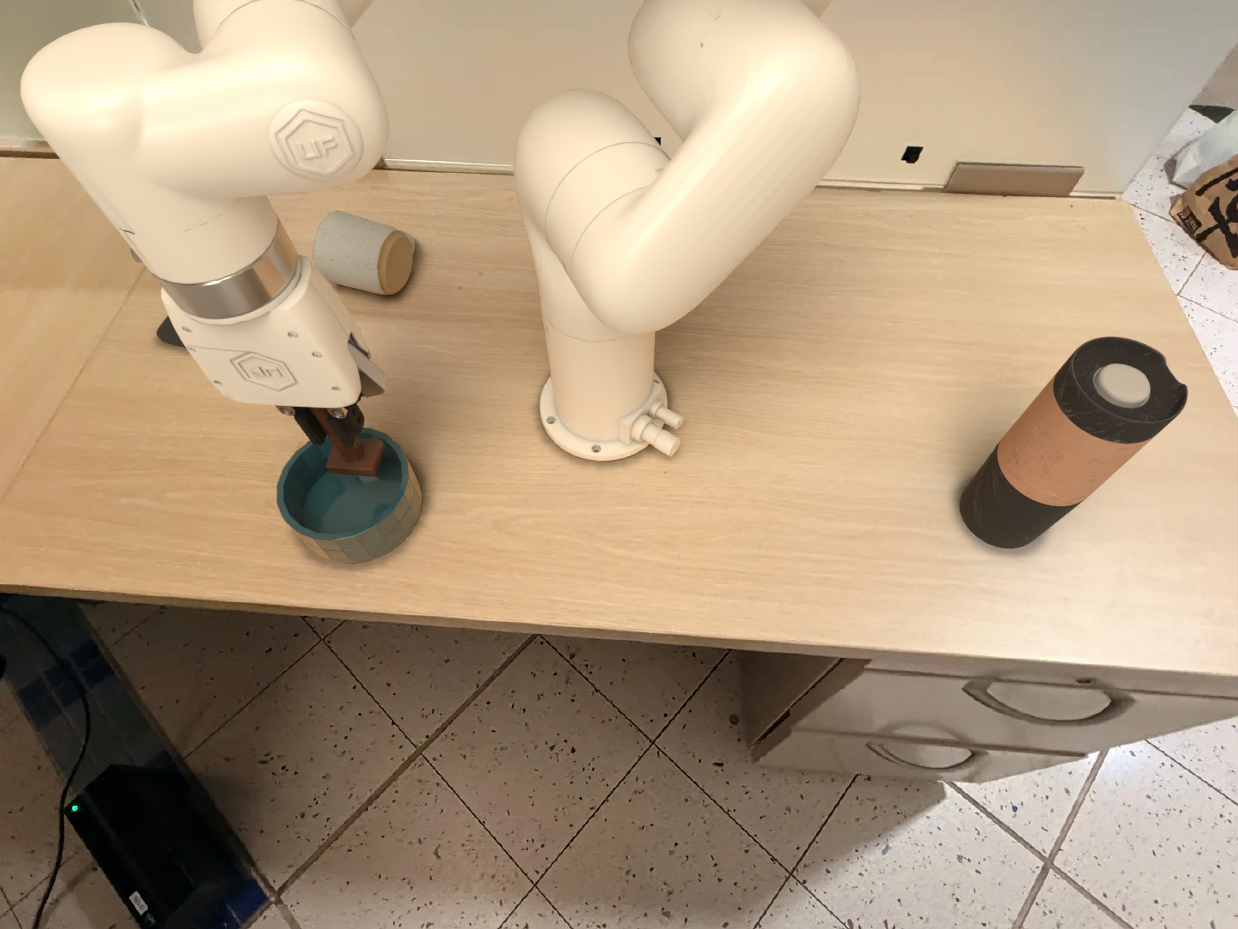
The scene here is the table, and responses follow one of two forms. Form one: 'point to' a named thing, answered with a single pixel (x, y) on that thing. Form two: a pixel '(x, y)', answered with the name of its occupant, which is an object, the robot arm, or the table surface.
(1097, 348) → the travel mug
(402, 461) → the bowl
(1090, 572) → the table surface
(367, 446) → the wooden stamp
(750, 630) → the table surface
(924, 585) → the table surface
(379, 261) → the ceramic mug
